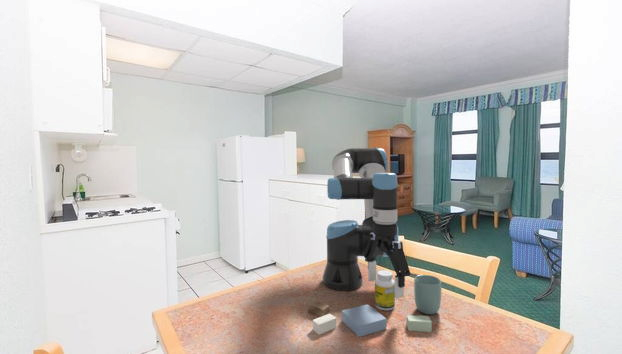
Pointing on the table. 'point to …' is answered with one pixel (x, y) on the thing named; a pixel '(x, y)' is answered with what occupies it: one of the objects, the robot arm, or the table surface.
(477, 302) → the table surface
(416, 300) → the cup
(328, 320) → the cream brick
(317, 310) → the walnut brick
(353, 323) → the slab
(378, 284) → the pill bottle
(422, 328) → the sage brick
